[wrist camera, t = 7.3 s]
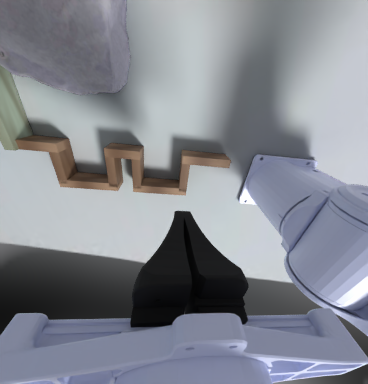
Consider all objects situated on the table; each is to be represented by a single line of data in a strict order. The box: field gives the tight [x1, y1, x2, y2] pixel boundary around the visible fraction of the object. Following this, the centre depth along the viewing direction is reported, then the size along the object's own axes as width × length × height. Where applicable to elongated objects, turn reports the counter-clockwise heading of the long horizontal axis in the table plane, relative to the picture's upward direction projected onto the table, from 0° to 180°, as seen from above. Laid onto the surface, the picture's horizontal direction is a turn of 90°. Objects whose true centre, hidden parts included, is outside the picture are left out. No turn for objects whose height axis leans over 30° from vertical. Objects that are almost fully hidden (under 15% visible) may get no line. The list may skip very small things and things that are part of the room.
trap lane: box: [0, 65, 231, 195], centre depth 16 cm, size 25×22×3 cm
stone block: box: [0, 0, 131, 95], centre depth 13 cm, size 12×5×10 cm
